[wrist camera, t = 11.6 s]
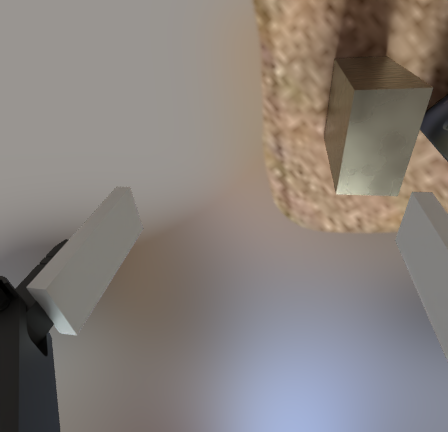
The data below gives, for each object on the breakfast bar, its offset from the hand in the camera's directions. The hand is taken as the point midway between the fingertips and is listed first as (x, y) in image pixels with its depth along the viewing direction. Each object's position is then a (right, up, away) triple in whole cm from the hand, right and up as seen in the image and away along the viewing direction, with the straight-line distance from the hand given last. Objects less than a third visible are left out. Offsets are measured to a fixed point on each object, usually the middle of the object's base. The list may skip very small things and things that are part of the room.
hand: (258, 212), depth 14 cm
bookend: (+10, +10, +12) cm, 18 cm away
